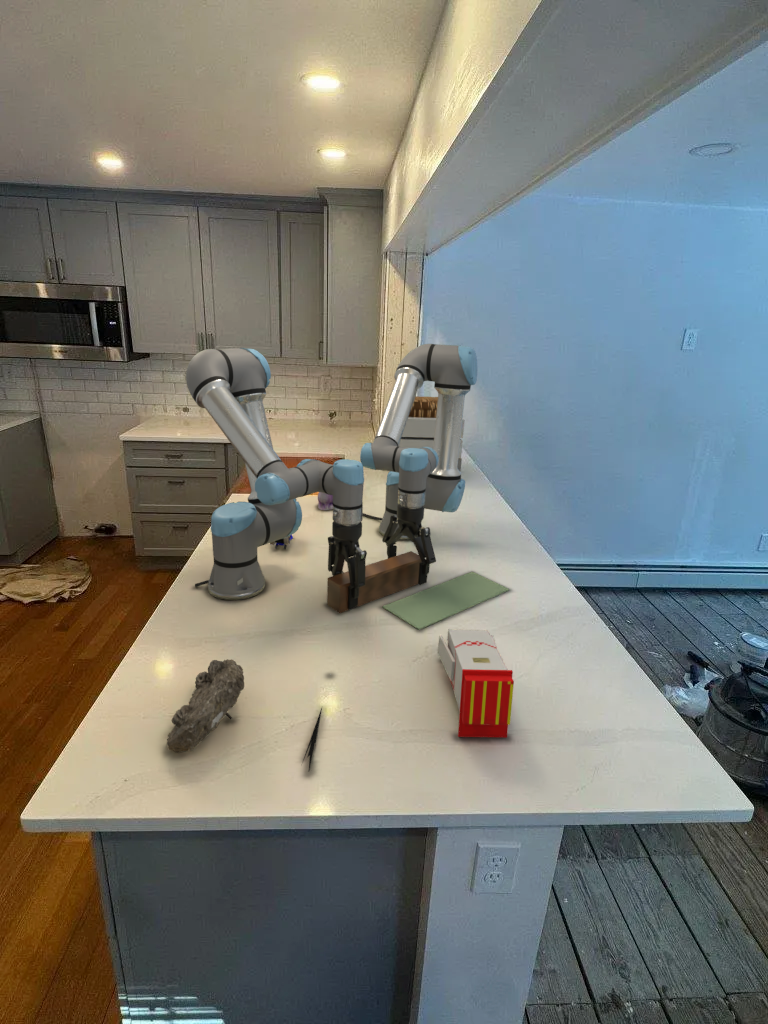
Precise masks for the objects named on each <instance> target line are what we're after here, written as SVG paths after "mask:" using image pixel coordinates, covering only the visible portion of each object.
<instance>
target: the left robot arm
mask: <svg viewBox="0 0 768 1024" xmlns="http://www.w3.org/2000/svg"><path fill="white" fill-rule="evenodd" d="M185 374H186V375H185V382H186V387H187V390H188V392H189V394H190V396H191V398H192V400H193V401H194V402H195V403H196V405H197V406H198V407H199V408H201V409H205V410H206V411H207V413H208V414H209V416H210V417H211V418H212V420H213V421H214V422H215V424H216V425H217V427H218V428H219V429H220V431H221V432H222V433H223V435H224V436H225V438H226V439H227V440H228V441H229V443H230V444H231V446H232V447H233V448H234V450H235V451H236V452H237V454H238V455H239V457H240V458H241V459H242V460H243V462H244V465H245V470H246V474H247V477H248V478H247V479H248V482H249V483H248V484H249V486H250V493H249V495H248V497H247V501H236V502H229V503H225V504H223V505H222V504H221V506H219V507H217V508H216V509H215V510H214V511H212V515H211V519H210V532H211V541H212V542H211V543H212V544H211V545H212V557H213V565H212V568H211V571H210V574H209V578H208V579H207V580H202V581H199V582H197V583H194V586H195V588H198V587H201V586H204V585H207V588H208V589H207V590H208V593H209V594H210V595H211V596H213V597H214V598H217V599H220V600H226V601H239V600H246V599H250V598H253V597H254V596H257V595H260V593H262V592H263V591H264V590H265V589H266V579H265V575H264V573H263V570H262V567H261V565H260V563H259V559H258V557H259V556H258V548H261V547H263V546H266V545H268V544H270V543H271V542H273V541H276V540H279V539H284V538H286V537H288V536H290V535H292V536H293V535H294V534H296V533H297V532H298V530H299V529H300V527H301V524H302V521H303V510H302V506H301V504H300V502H299V501H297V499H298V498H302V497H306V496H309V495H313V494H315V493H319V492H322V493H325V494H328V495H333V509H332V523H331V524H332V526H331V527H332V528H331V534H332V535H331V536H327V543H328V552H327V553H328V554H327V555H328V558H327V571H328V572H331V575H332V576H335V575H338V574H341V573H344V572H345V571H344V570H343V569H344V565H345V563H346V565H347V571H348V572H349V578H350V586H348V609H349V610H348V611H350V610H353V609H356V608H358V607H359V606H358V597H359V587H362V586H365V566H366V560H367V559H366V558H367V555H368V552H367V550H365V549H364V550H362V549H361V548H360V547H361V546H360V542H359V540H360V539H361V537H362V536H363V522H362V521H363V519H364V518H363V517H364V516H363V513H364V511H363V510H364V505H363V504H364V502H363V499H364V498H363V496H364V485H365V483H364V482H365V477H364V475H365V473H364V467H363V465H362V463H361V461H360V460H356V459H349V458H345V459H337V460H335V461H334V462H333V463H332V464H331V463H329V462H328V463H327V462H324V461H321V460H319V459H311V458H305V459H302V460H301V461H300V462H298V464H297V465H296V466H294V467H289V468H288V466H287V465H286V463H284V461H283V460H282V459H281V458H280V456H279V454H277V452H276V451H275V450H274V446H273V442H272V437H271V433H270V429H269V424H268V420H267V415H266V410H265V406H264V402H263V401H264V399H265V397H267V391H266V389H267V388H268V387H269V385H270V383H271V381H270V380H271V379H272V373H271V367H270V365H269V362H268V361H267V358H265V356H264V355H263V354H262V353H260V352H259V351H258V350H257V349H253V348H245V347H235V348H234V347H232V348H208V349H204V350H201V351H199V352H197V353H196V354H194V355H193V357H192V358H191V359H190V361H189V362H188V364H187V367H186V372H185ZM355 607H356V608H355Z"/></svg>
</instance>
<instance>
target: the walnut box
mask: <svg viewBox="0 0 768 1024" xmlns="http://www.w3.org/2000/svg"><path fill="white" fill-rule="evenodd" d="M421 562H422V561H421V559H420V556H419V554H418V553H417V552H414V551H412V550H410V551H406V552H403V553H401V554H398V555H397V554H396V556H394V557H391V558H388V557H387V558H386V559H382V560H379V561H375V562H372V563H369V564H365V586H362V587H359V597H358V607H361V606H364V605H366V604H369V603H371V602H374V601H377V600H379V599H382V598H385V597H388V596H390V595H394V594H396V593H398V592H400V591H403V590H406V589H409V588H411V587H414V586H417V585H419V584H418V578H419V564H420V563H421ZM343 572H344V573H341V574H338V575H335V576H333V575H332V576H329V577H327V578H326V579H327V580H326V581H327V586H326V605H327V606H328V607H329V608H331V609H332V610H334V611H335V612H337V613H338V614H342V613H344V612H347V611H350V610H349V609H348V586H350V578H349V572H348V570H347V571H343ZM356 608H357V607H355V608H354V609H356Z"/></svg>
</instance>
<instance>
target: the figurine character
mask: <svg viewBox="0 0 768 1024" xmlns="http://www.w3.org/2000/svg"><path fill="white" fill-rule="evenodd" d="M292 539H294V536H293V534H292V535H290V536H288V537H286V538H284V539H279V540H276V541H273V542H271V543H269V545H271V546H274V549H275V550H277V549H278V547H279V546H283V548H282V549H283V550H286V549H287V546H289V544H290V541H292Z"/></svg>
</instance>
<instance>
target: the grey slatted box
mask: <svg viewBox="0 0 768 1024" xmlns="http://www.w3.org/2000/svg"><path fill="white" fill-rule="evenodd" d="M437 403H438V396H417V395H416V396H415V399H414V402H413V405H412V408H411V411H410V414H409V416H408V419H407V422H406V425H405V428H404V431H403V434H402V437H401V440H400V443H399V445H398V446H399V447H406V448H422V447H430V448H432V449H433V447H434V436H435V425H436V414H437ZM464 429H465V419H464V418H463V419H462V428H461V437H460V447H459V456H458V466H457V468H458V470H459V471H460V472H461V473H462V461H463V460H462V453H463V442H464V441H463V440H462V439H463V438H464V431H465V430H464Z"/></svg>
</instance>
